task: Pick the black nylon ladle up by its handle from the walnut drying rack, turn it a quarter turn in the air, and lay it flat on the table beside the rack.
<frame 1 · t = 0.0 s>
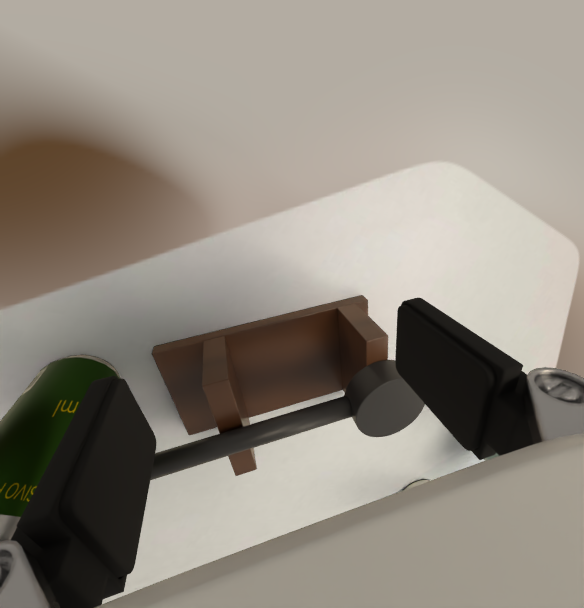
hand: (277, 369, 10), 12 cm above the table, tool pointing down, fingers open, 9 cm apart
rack: (273, 362, 25), on the table
beer can: (85, 379, 22), on the table
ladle: (289, 415, 20), point 6 cm above the table, touching rack
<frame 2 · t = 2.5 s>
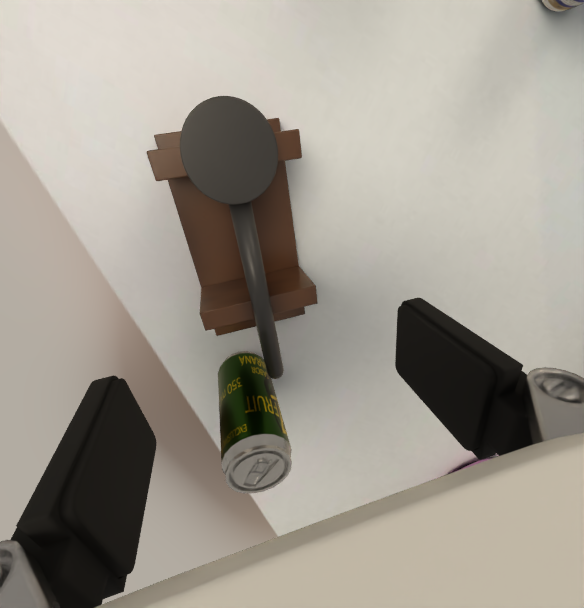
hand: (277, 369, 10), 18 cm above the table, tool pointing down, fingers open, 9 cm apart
rack: (242, 238, 26), on the table
beer can: (242, 368, 32), on the table
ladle: (251, 258, 21), point 6 cm above the table, touching rack
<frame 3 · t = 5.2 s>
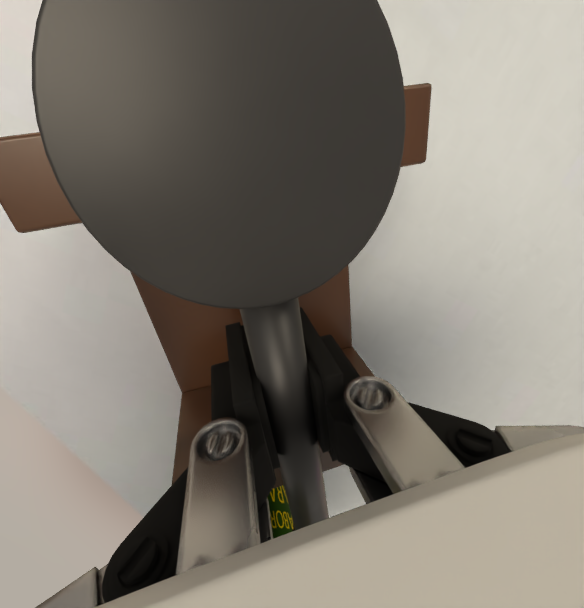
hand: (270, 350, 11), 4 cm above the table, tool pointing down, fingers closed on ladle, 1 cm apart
rack: (256, 305, 14), on the table
beer can: (252, 486, 21), on the table
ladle: (283, 389, 9), point 6 cm above the table, touching gripper, rack
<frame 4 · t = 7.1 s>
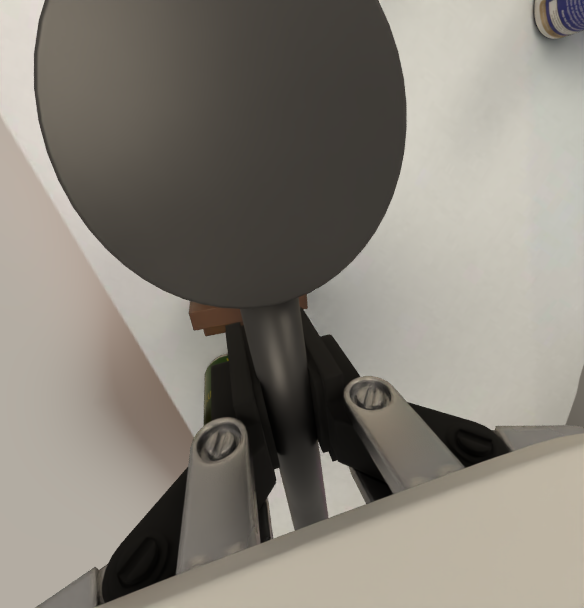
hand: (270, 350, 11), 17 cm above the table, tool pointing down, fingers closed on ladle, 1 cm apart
rack: (236, 240, 26), on the table
beer can: (230, 370, 32), on the table
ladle: (283, 389, 9), point 19 cm above the table, touching gripper
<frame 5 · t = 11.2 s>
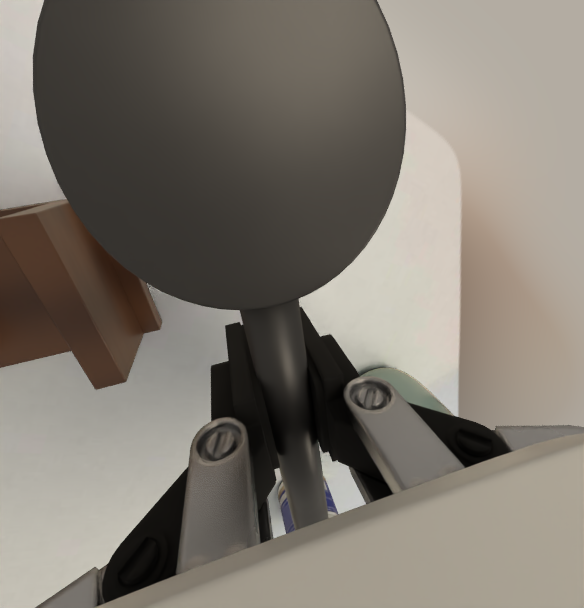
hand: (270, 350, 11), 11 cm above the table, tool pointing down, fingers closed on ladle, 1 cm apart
cup: (370, 385, 30), on the table
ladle: (283, 390, 9), point 13 cm above the table, touching gripper
pill bottle: (300, 482, 34), on the table
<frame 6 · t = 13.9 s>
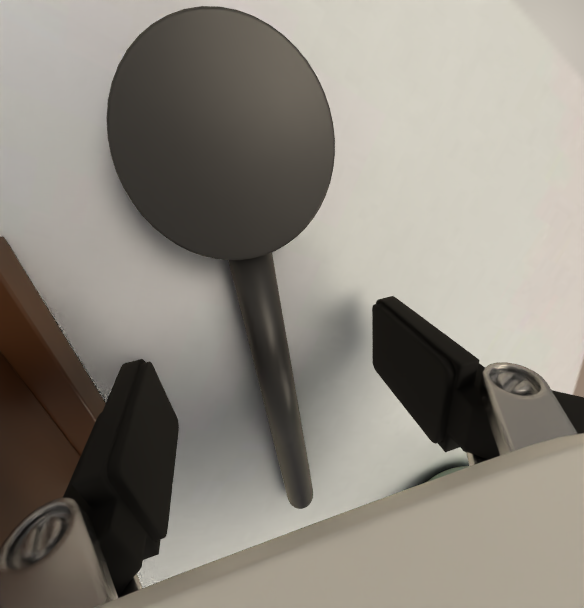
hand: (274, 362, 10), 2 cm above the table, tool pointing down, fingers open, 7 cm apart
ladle: (266, 338, 12), on the table
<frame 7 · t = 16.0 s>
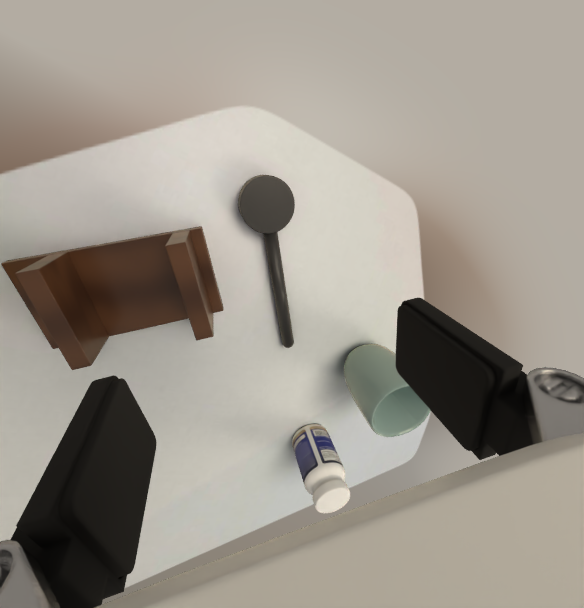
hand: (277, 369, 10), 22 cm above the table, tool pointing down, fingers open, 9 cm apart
rack: (127, 286, 29), on the table
cup: (361, 358, 41), on the table
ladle: (274, 265, 32), on the table
pill bottle: (309, 435, 45), on the table
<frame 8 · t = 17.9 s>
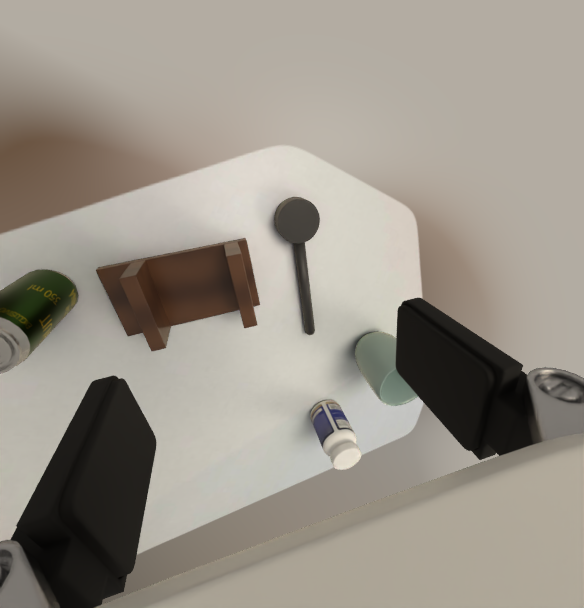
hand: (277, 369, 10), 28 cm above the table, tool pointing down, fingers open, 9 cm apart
rack: (186, 286, 37), on the table
cup: (369, 344, 49), on the table
beer can: (53, 289, 33), on the table
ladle: (300, 268, 40), on the table
pill bottle: (324, 409, 53), on the table
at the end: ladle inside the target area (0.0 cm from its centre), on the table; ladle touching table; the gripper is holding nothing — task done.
